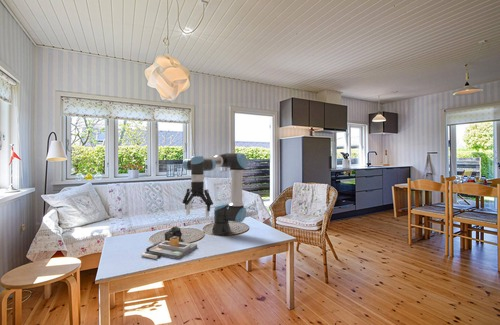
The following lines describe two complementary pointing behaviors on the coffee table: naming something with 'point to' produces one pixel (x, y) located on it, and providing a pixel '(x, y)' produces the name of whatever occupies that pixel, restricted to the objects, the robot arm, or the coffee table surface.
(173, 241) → the breaker lever
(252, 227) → the coffee table surface
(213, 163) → the robot arm
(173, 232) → the camera
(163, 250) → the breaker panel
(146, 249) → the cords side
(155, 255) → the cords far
